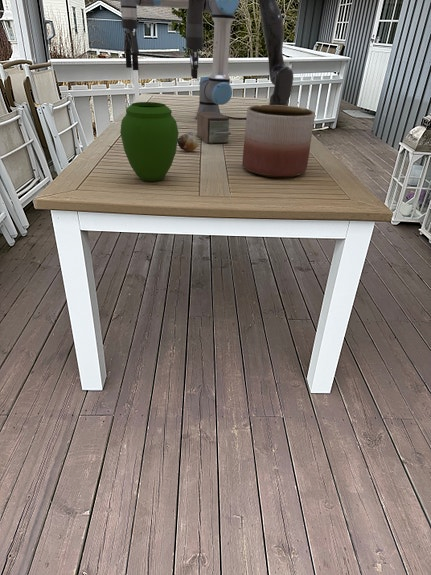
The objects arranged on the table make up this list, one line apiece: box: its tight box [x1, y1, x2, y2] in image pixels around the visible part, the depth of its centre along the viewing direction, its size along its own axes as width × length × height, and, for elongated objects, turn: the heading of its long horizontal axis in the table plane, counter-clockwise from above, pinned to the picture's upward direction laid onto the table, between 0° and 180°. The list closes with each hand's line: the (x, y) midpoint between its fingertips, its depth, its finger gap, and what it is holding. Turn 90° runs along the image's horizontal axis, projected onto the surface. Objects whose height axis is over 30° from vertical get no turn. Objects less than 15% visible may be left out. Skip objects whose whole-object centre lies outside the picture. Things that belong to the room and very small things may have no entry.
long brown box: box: [196, 112, 230, 145], centre depth 201 cm, size 17×10×11 cm, turn 19°
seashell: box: [177, 131, 200, 152], centre depth 179 cm, size 10×6×8 cm, turn 97°
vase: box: [119, 101, 179, 182], centre depth 140 cm, size 20×20×24 cm
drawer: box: [209, 120, 232, 142], centre depth 197 cm, size 22×9×10 cm, turn 19°
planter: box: [242, 104, 316, 179], centre depth 156 cm, size 25×25×22 cm
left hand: (132, 68), depth 208 cm, fingers open, 13 cm apart
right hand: (194, 77), depth 186 cm, fingers open, 8 cm apart
